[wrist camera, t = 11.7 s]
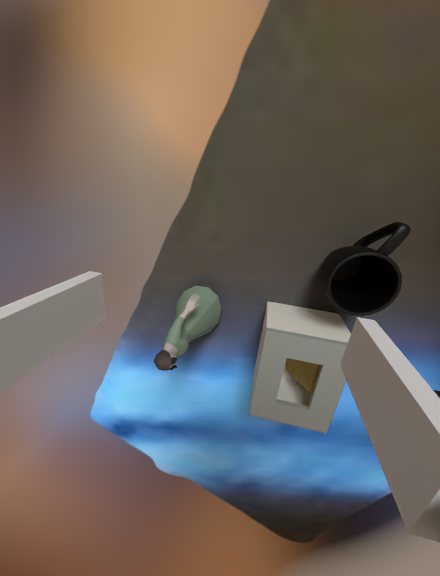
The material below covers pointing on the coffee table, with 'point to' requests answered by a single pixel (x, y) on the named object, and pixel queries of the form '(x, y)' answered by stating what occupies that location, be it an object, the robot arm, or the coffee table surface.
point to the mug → (365, 273)
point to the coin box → (305, 347)
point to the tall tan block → (304, 372)
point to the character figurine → (189, 324)
